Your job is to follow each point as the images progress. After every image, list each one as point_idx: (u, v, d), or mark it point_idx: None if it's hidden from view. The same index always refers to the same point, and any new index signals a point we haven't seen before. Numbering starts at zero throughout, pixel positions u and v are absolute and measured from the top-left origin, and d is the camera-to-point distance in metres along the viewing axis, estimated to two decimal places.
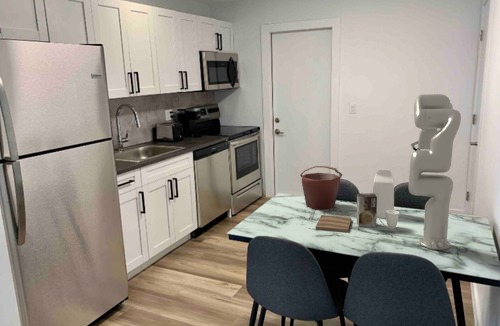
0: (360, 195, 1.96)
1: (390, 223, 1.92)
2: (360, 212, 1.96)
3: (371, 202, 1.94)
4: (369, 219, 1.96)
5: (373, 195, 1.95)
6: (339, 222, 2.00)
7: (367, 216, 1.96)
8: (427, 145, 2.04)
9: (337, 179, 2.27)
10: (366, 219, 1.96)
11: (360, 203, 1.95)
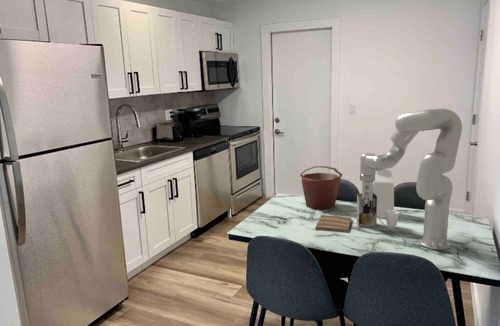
0: (360, 195, 1.96)
1: (390, 223, 1.92)
2: (360, 212, 1.96)
3: (371, 202, 1.94)
4: (369, 219, 1.96)
5: (373, 195, 1.95)
6: (339, 222, 2.00)
7: (367, 216, 1.96)
8: None
9: (337, 179, 2.27)
10: (366, 219, 1.96)
11: (360, 203, 1.95)
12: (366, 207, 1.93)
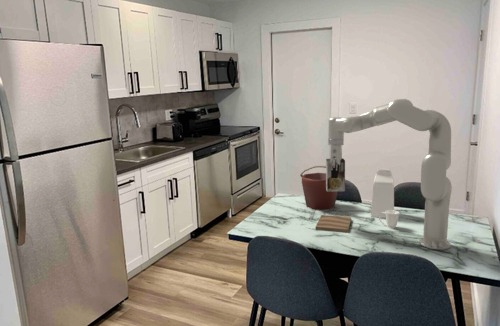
0: (328, 160, 1.94)
1: (390, 223, 1.92)
2: (328, 177, 1.94)
3: (339, 166, 1.92)
4: (337, 184, 1.94)
5: (341, 159, 1.94)
6: (339, 222, 2.00)
7: (335, 181, 1.94)
8: None
9: None
10: (335, 184, 1.94)
11: (328, 167, 1.93)
12: (334, 171, 1.91)
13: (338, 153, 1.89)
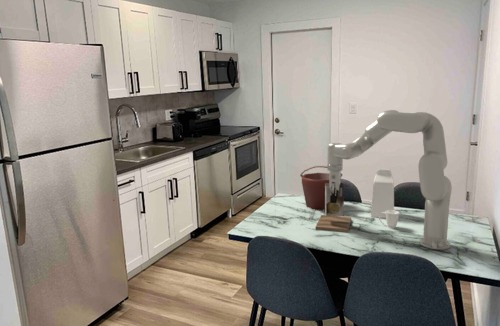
0: (327, 184, 1.97)
1: (390, 223, 1.92)
2: (327, 201, 1.96)
3: (338, 192, 1.95)
4: (336, 208, 1.96)
5: (340, 184, 1.96)
6: (339, 222, 2.00)
7: (334, 206, 1.96)
8: None
9: None
10: (334, 208, 1.96)
11: (327, 192, 1.95)
12: (333, 196, 1.94)
13: (337, 179, 1.92)
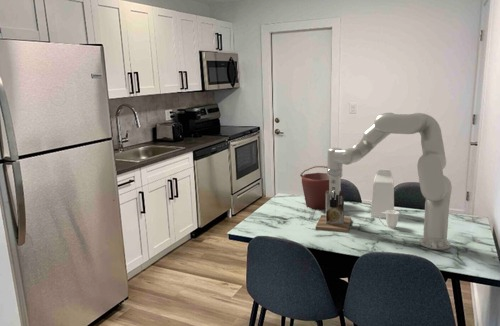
0: (328, 192, 1.97)
1: (390, 223, 1.92)
2: (327, 209, 1.97)
3: (338, 199, 1.95)
4: (336, 216, 1.97)
5: (340, 192, 1.96)
6: None
7: (334, 213, 1.96)
8: (339, 190, 1.96)
9: None
10: (334, 216, 1.97)
11: (327, 200, 1.96)
12: (333, 201, 1.93)
13: (337, 184, 1.92)
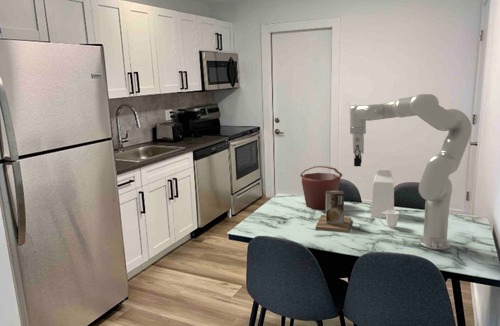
0: (328, 192, 1.97)
1: (390, 223, 1.92)
2: (327, 209, 1.97)
3: (338, 199, 1.95)
4: (336, 216, 1.97)
5: (340, 192, 1.96)
6: None
7: (334, 213, 1.96)
8: None
9: (337, 179, 2.27)
10: (334, 216, 1.97)
11: (327, 200, 1.96)
12: (357, 159, 1.87)
13: (361, 141, 1.86)
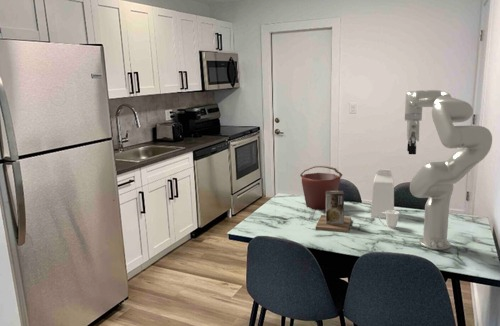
0: (328, 192, 1.97)
1: (390, 223, 1.92)
2: (327, 209, 1.97)
3: (338, 199, 1.95)
4: (336, 216, 1.97)
5: (340, 192, 1.96)
6: None
7: (334, 213, 1.96)
8: None
9: (337, 179, 2.27)
10: (334, 216, 1.97)
11: (327, 200, 1.96)
12: (412, 147, 1.81)
13: (417, 128, 1.80)
